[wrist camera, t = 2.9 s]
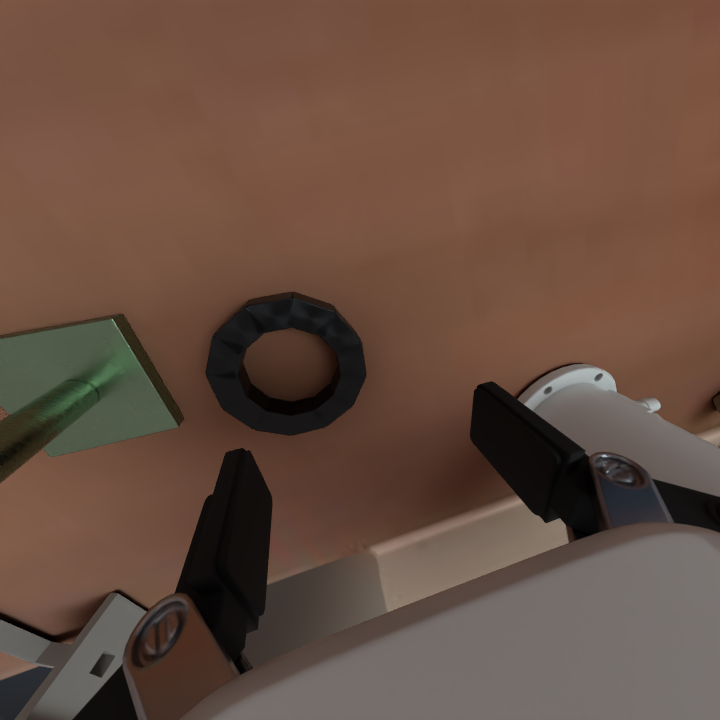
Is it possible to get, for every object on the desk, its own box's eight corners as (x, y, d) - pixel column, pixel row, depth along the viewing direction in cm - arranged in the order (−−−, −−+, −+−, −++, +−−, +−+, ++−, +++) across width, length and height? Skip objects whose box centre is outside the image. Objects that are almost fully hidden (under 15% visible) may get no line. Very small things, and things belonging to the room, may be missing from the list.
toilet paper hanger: (-91, 508, 20) (-317, 646, 14) (-15, 508, 18) (-240, 671, 12) (106, 618, 31) (29, 725, 24) (168, 626, 29) (103, 745, 22)
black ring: (348, 281, 17) (353, 285, 15) (367, 402, 22) (372, 415, 20) (189, 310, 16) (177, 318, 14) (245, 432, 20) (241, 448, 19)
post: (123, 313, 15) (-196, 454, 5) (184, 418, 19) (61, 615, 9) (-35, 341, 14) (-780, 577, 4) (63, 447, 18) (-222, 701, 8)
